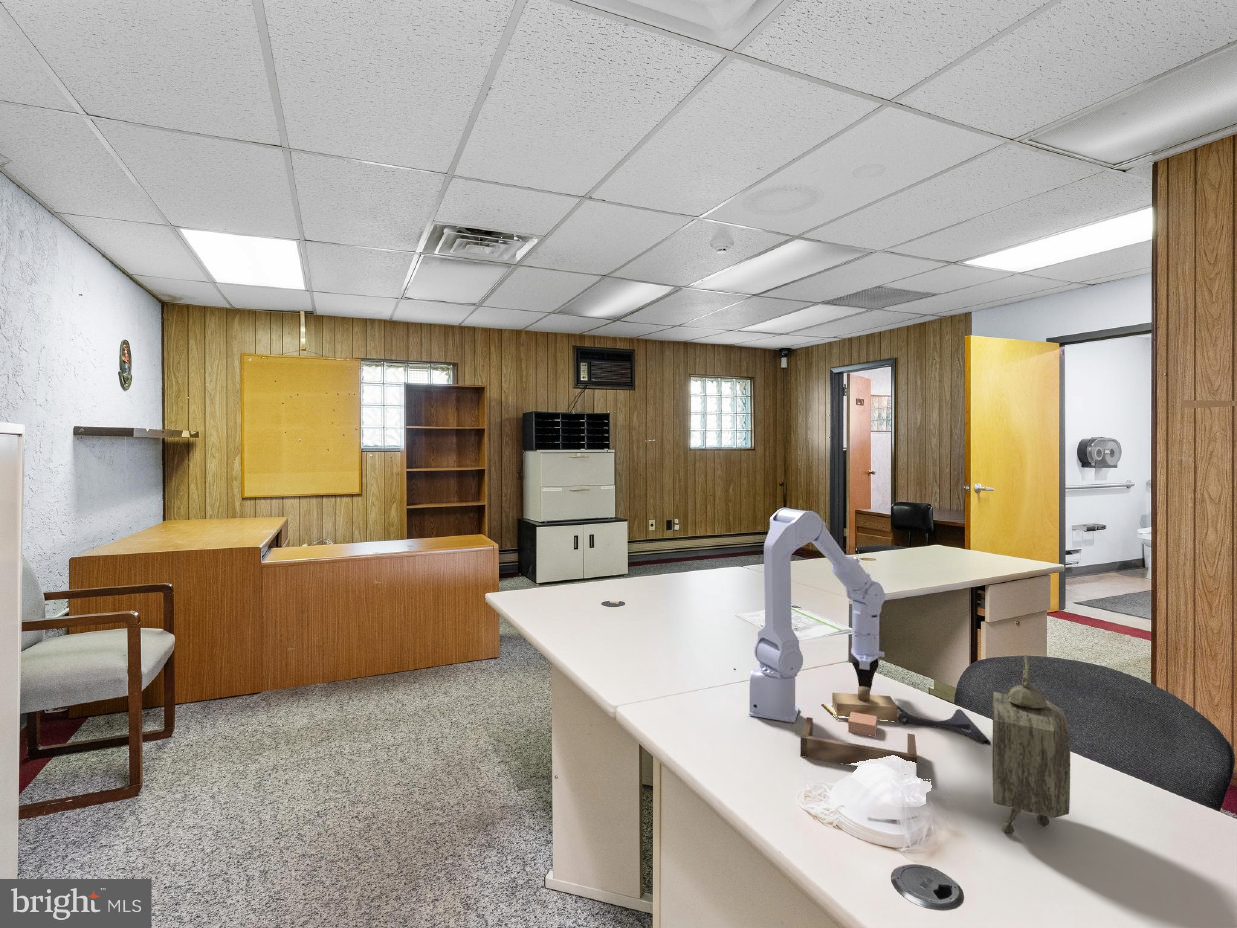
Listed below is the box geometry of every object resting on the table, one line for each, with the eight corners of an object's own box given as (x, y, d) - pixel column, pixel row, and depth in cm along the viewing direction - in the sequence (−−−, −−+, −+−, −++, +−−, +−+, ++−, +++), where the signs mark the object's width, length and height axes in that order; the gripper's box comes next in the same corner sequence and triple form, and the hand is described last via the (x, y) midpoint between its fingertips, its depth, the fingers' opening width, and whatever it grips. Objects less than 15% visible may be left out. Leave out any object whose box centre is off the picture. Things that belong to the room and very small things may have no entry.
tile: (848, 733, 124) (848, 720, 124) (850, 723, 129) (850, 711, 129) (875, 738, 122) (875, 725, 122) (876, 728, 127) (876, 716, 127)
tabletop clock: (992, 791, 103) (993, 640, 102) (1058, 806, 98) (1060, 649, 98) (993, 837, 90) (995, 666, 90) (1070, 858, 86) (1072, 678, 85)
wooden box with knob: (837, 719, 131) (837, 691, 131) (832, 708, 137) (832, 681, 137) (897, 723, 129) (897, 695, 129) (889, 711, 135) (889, 684, 135)
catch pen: (800, 756, 114) (800, 737, 114) (806, 734, 123) (806, 716, 123) (917, 777, 107) (917, 757, 107) (914, 753, 115) (914, 734, 115)
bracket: (889, 711, 136) (889, 699, 136) (963, 716, 133) (963, 703, 133) (908, 742, 122) (908, 728, 121) (990, 748, 119) (990, 734, 119)
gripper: (884, 642, 133) (884, 705, 133) (884, 625, 147) (884, 682, 147) (849, 638, 136) (849, 700, 136) (852, 622, 149) (852, 678, 150)
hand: (865, 690), depth 142 cm, fingers closed
